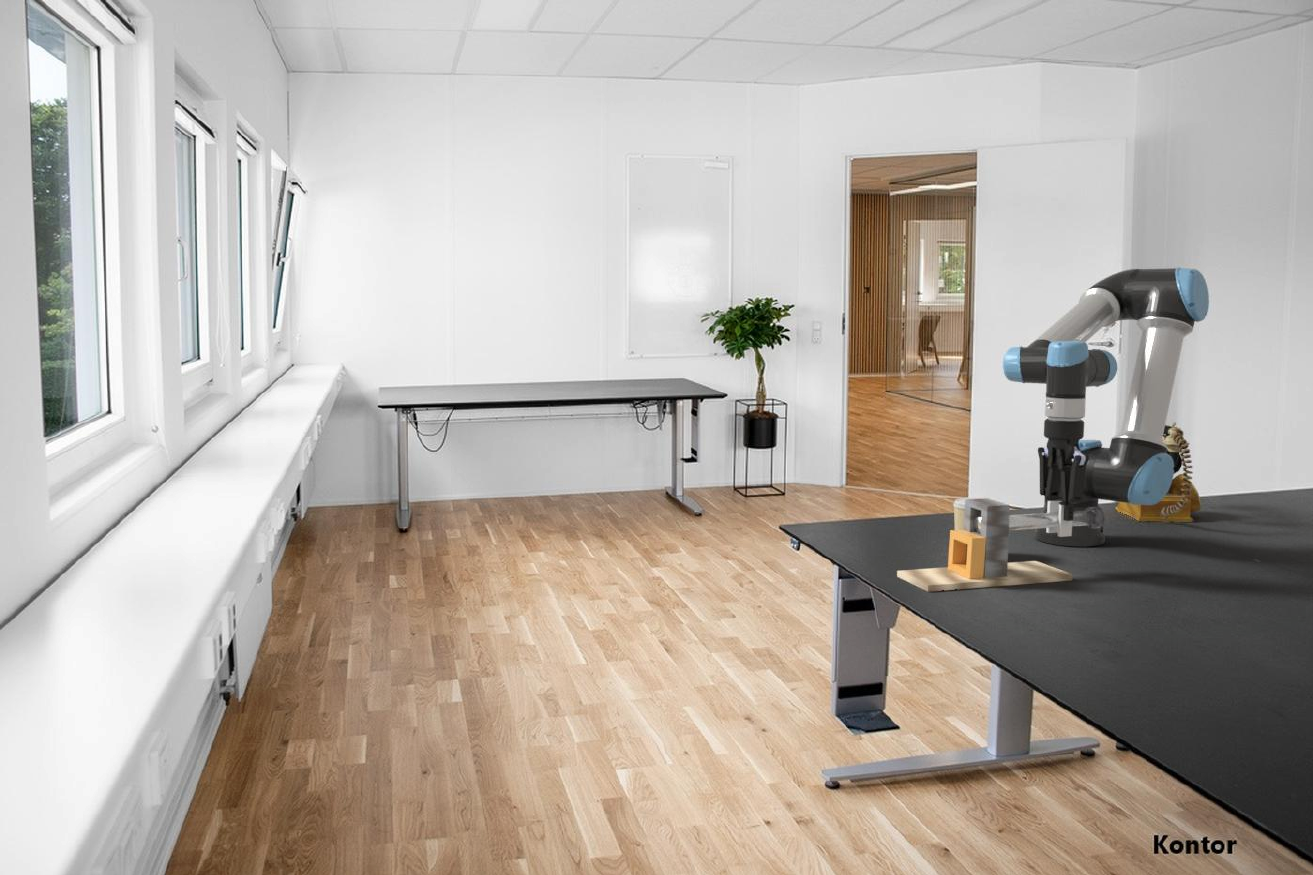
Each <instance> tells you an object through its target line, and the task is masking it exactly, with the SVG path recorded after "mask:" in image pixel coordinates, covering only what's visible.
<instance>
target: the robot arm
mask: <svg viewBox="0 0 1313 875" xmlns="http://www.w3.org/2000/svg"><path fill="white" fill-rule="evenodd" d="M1209 303H1210V296H1209V288H1208V284H1207V282H1206V278H1205V277H1204V275H1203V274H1202V272H1201V271H1200V270H1198V269H1196V268H1184V267H1183V268H1182V267H1175V268H1131V269H1126V270H1122V271H1118V272H1117V273H1114V274H1111V275H1108V276H1107V277H1105V278H1103V279H1101V280H1099V281H1097V282H1096V283H1095V284H1093V285H1092V286H1090V287H1089V288H1087V289H1086V290H1085V292H1083V293H1082V294H1081V296H1080V298H1079V300H1078V303H1077V304H1076V305H1075V306H1073V307H1072V308H1071V309H1070V310H1069V311H1068V312H1066V313H1065V314H1064V315H1062V317H1061V318H1059V319H1058V320H1057V321H1056V322H1055V323H1054V324H1053V325H1051V326H1050V327H1049V328H1048V329H1046V330H1045V331H1044V332H1043V333H1042V334H1041V335H1039V337H1037V338H1036V339H1035V340H1034V341H1032V342H1031V343H1030V344H1029V345H1028V346H1026V347H1025V346H1014V347H1010V348H1008V350H1006V352H1005V354H1004V357H1003V360H1002V368H1003V374H1004V376H1005V378H1006V379H1007V380H1009V381H1010V382H1014V383H1022V384H1039V385H1041V384H1043V385H1044V384H1045V385H1046V386H1045V387H1046V388H1045V390H1046V391H1045V407H1044V408H1045V409H1044V415H1045V417H1047V418H1045V420H1044V421H1043V422H1044V423H1043V437H1045V438H1046V439H1048V440H1047V442H1046V445H1045V446H1043V447H1042V446H1041V447H1038V448H1037V453H1038V458H1039V494H1040V496H1043V497H1044V503H1043V507H1042V510H1041V512H1040V513H1054V512H1059V517H1058V527H1054V528H1038V529H1035V530H1034V538H1035V540H1038V541H1040V542H1042V543H1047V544H1052V545H1057V546H1063V547H1064V546H1065V547H1095V546H1096V547H1097V546H1101V545H1104V544H1105V542H1106V541H1105V538H1106V532H1105V530H1104V525H1103V526H1102V527H1101V528H1093V529H1091V528H1088V527H1087V526H1072V521H1073V517H1074V516H1073V515H1074V514H1073V513H1074V511H1085V510H1086V508H1088V507H1099V500H1105V501H1109V502H1110V501H1111V502H1118V503H1119V502H1125V503H1131V504H1133V505H1138V504H1141V505H1154V504H1156V503H1158V502H1160V501H1161V499H1163V498H1164V497H1165V495H1166V494H1167V492H1168V490H1169V488H1170V485H1171V483H1172V480H1173V479H1174V475H1175V474H1174V470H1173V468H1174V462H1173V459H1172V457H1171V456H1170V455H1168V454H1167V450H1168V448H1167V446H1166V445H1165V444H1164V442H1163V441H1162V440H1163V438H1164V437H1163V432H1164V428H1165V425H1166V422H1167V416H1168V413H1169V408H1170V404H1171V398H1172V394H1173V390H1174V385H1175V379H1176V375H1177V370H1178V365H1179V361H1180V356H1181V352H1182V346H1183V341H1184V338H1185V337H1186V336H1189V335H1190V334H1191V333H1192V332H1193V330H1194V325H1195V322H1196V323H1199V322H1201V321H1204V320H1205V319H1206V317H1207V315H1208V313H1209ZM1128 320H1129V321H1130V320H1131V321H1133V320H1134V321H1136V325H1137V327H1138V328H1139V329H1140V330H1141V336H1140V341H1139V346H1138V350H1137V354H1136V360H1135V363H1134V369H1133V372H1132V377H1131V378H1132V379H1131V382H1130V387H1129V391H1128V396H1127V400H1126V406H1125V410H1124V415H1123V420H1122V423H1121V424H1122V425H1121V430H1120V432H1119V433H1117V434H1115V435H1114V436H1113V437H1111V441H1110V445H1109V447H1103V443H1102V441H1101V440H1099V439H1083V438H1084V436H1085V422H1084V420H1082V419H1084V418H1085V417H1086V399H1087V398H1086V395H1087V394H1086V393H1087V388H1088V387H1097V388H1098V387H1100V386H1104V385H1107V384H1109V383H1111V381H1113V380H1114V379H1115V378H1116V375H1117V373H1118V362H1117V359H1116V358H1115V356H1114V355H1113V354H1112V353H1111V352H1109V351H1108V350H1105V349H1100V348H1098V349H1097V348H1092V349H1089V345H1088V344H1087V342H1088V341H1089V340H1090V339H1091V338H1092V337H1093V336H1094V335H1095V334H1097V333H1098V332H1099V331H1100V330H1101V329H1102V328H1104V327H1105V328H1106V327H1109V326H1112V325H1113V324H1114V323H1116V322H1118V321H1128Z"/></svg>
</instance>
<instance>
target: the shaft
mask: <svg viewBox="0 0 1313 875" xmlns="http://www.w3.org/2000/svg"><path fill="white" fill-rule="evenodd" d="M1073 514H1074V515H1073V516H1074V517H1073V521H1072V526H1087V527H1088V528H1091V529H1093V528H1101V527H1102V526H1103V527H1104V523H1105V513H1104V511H1103V509H1102V508H1101V507H1100V506H1098V507H1088V508H1086V510H1085V511H1074V513H1073ZM1058 517H1059V512H1054V513H1041V512H1039V513H1024V514H1023V513H1022V514H1009V531H1020V530H1034V529H1038V528H1054V527H1058ZM974 526H975V529H976V531H977V532H980V529H981V517H977V518H976V519H975V521H974Z"/></svg>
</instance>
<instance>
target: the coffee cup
mask: <svg viewBox="0 0 1313 875" xmlns="http://www.w3.org/2000/svg"><path fill="white" fill-rule="evenodd" d="M965 499H982V497H961V498H956V499H955V500H954V502H953V508H954V509H953V513H954V516H953V518H954V530H964V520H965Z"/></svg>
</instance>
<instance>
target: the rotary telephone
mask: <svg viewBox="0 0 1313 875" xmlns="http://www.w3.org/2000/svg"><path fill="white" fill-rule="evenodd" d="M1176 425H1177V422H1176V421H1173V422H1172V423H1171V425H1166V424H1165V428H1164V432H1163V437H1162V438H1163V439H1162V441H1163V442H1164V444H1165V445H1166V446H1167V448H1168V450H1167V454H1168V455H1170V456H1171V457H1172V459H1173V462H1174V468H1173V470H1174V475H1175V474H1176V473H1179V471H1180V470H1181V467H1182V466H1183V467H1182V470H1183V473H1180V474H1178V475H1177V476H1175V477H1173V480H1172V483H1171V485H1170V488H1169V490H1168V492H1167V494H1166V495H1165V497H1164V498H1163V499H1161V501H1160V502H1158V503H1156V504H1154V505H1141V504H1138V505H1133V504H1131V503H1125V502H1118V503H1119V504H1118V505H1117V506H1115V509H1116V510H1117V511H1118V513H1120V512H1121V513H1120V514H1122V513H1123V514H1122V515H1124V514H1127V515H1129V516H1131V517H1133V518H1135V519H1136V520H1138V521H1193V522H1194V518H1193V517H1191V513H1195V512H1198V511H1200V510H1202V507H1203V506H1202V500H1201V498H1200V495H1199V492H1198V490H1197V488H1196V486H1195V485H1194V484H1193V482H1192V481H1191V480H1193V477H1192V476H1190V475H1191V474H1193V473H1194V472H1193V471H1191V470H1188V469H1193V467H1194V466H1192V465H1187V464H1192V461H1193V460H1190V459H1189V458H1192V454H1190V453H1191V450H1190V449H1189V445H1190V443H1189V442H1188V441H1187V440H1186V439H1185V438H1184V431H1183V430H1182V429H1181V428H1180V427H1177V426H1176ZM1185 459H1186V460H1185ZM1188 474H1189V475H1188ZM1117 511H1116V512H1117ZM1136 520H1135V521H1136ZM1138 521H1137V522H1138Z"/></svg>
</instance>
